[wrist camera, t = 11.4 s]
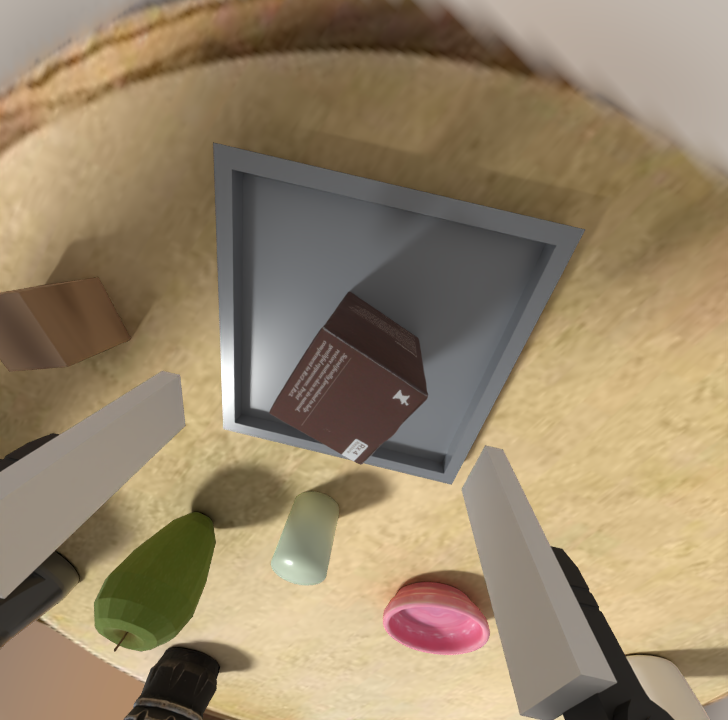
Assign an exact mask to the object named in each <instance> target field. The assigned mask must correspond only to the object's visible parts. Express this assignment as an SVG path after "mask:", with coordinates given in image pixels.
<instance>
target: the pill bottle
mask: <svg viewBox="0 0 728 720" xmlns="http://www.w3.org/2000/svg"><path fill="white" fill-rule="evenodd" d="M626 658H627V660H628V662H629V663H630V665H631V667H632V669H633V671H634V673H635V675H636V676H637V678H638V680H639V682H640V684H641V685H642V687H643V689H644V690H645V692H646V694H647V695H648V697H649V698H650V700H652V701H653V702H655V703H656V704H657V705H659V706H660V707H661V708H663V709H664V710H665V711H667V712H668V713H669V714H670V715H671V716H672V718H673V719H674V720H710V718H709V717H708V715H707V713H706V712H705V710H704V708H703V707H702V705H701V704H700V702H699V700H698V699H697V697H696V695H695V694H694V692H693V691H692V689H691V687H690V686H689V684H688V683H687V681H686V679H685V678H684V676H683V675H682V673H681V672H680V670H679V669H678V668H677V666H676V665H675V664H673V663H672V662H671V661H669V660H667V659H664V658H660V657H656V656H648V655H632V656H626Z"/></svg>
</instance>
